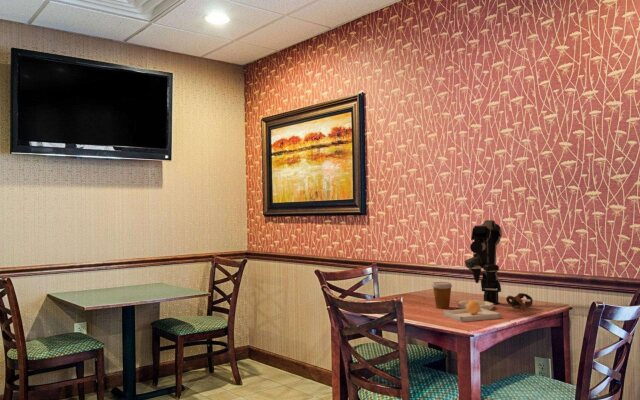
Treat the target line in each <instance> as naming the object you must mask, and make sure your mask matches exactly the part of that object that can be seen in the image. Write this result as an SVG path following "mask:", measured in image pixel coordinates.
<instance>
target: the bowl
mask: <svg viewBox="0 0 640 400" xmlns="http://www.w3.org/2000/svg"><path fill="white" fill-rule="evenodd" d="M470 301H476V302H477V303H478V304H479V305H480V308H483V309H486V310H490V311H492V310H493V309H494V308H493V307H494V306H495V304H494V303H491V302H487V301H484V300H473V299H472V300H469V299H468V300H461V301H458V302H457V304H456V305H457V307H458V308H459V310H461V309H466V306H467V304H468V302H470Z"/></svg>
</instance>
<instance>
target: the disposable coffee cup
mask: <svg viewBox="0 0 640 400" xmlns="http://www.w3.org/2000/svg"><path fill="white" fill-rule="evenodd" d="M452 287H453V285H452V283H451V282H448V281H436V282H433V283H432V289H433V296H434V302H435V308H437V309H449V308H450V305H451V304H450V302H451V291H452Z"/></svg>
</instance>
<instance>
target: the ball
mask: <svg viewBox="0 0 640 400" xmlns="http://www.w3.org/2000/svg"><path fill="white" fill-rule="evenodd" d="M476 301H477V300H476ZM476 301H470V302H468V304H467V306H466V309H467V311H468V312H469V313H470V314H477V313H478V312H479V311H480V305H479V304H478V303H477V302H476Z"/></svg>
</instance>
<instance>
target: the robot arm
mask: <svg viewBox="0 0 640 400" xmlns="http://www.w3.org/2000/svg"><path fill="white" fill-rule="evenodd" d="M502 237H503V231H502V228H501V226H500V225H499V224H498V223H497V222H496V221H495V220H492V219H491V220H490V219H488V220H487V219H486V220H484V221H483V223H482V224H481V225H474V226H473V228H472V231H471V238H470V240H471V241H472V242H471V244H470V250H471V252H472V253H473V257H470V258H468V259H465V260H464V264H465V267H466V268H467V270H469V271H470V272H471V273H472V275H473V279H474V282H475V284H478V283H479V281H480V287H481V291H482V292H483V301H487V302H491V303H494V305H499V304H501V302H499V293H501V292H502V286H501V282H500V280H499V277H498V275H497V273H498V272H499V271H500V266H499V265H498V264H497V252H498V251H497V249H498V244H499V243H500V242H501V238H502ZM482 269H483V273H482V277H481V272H482ZM480 277H481V280H480Z"/></svg>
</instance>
